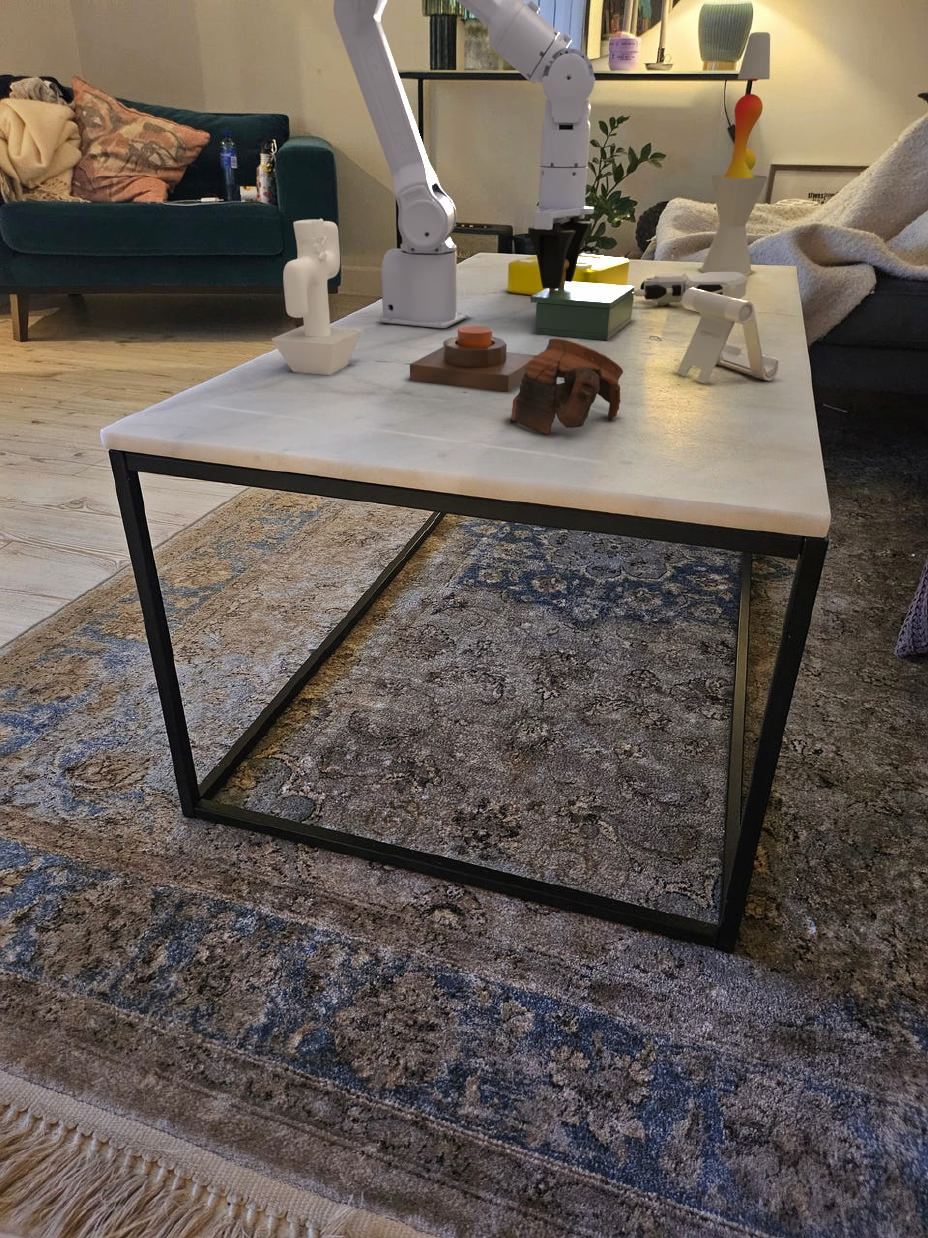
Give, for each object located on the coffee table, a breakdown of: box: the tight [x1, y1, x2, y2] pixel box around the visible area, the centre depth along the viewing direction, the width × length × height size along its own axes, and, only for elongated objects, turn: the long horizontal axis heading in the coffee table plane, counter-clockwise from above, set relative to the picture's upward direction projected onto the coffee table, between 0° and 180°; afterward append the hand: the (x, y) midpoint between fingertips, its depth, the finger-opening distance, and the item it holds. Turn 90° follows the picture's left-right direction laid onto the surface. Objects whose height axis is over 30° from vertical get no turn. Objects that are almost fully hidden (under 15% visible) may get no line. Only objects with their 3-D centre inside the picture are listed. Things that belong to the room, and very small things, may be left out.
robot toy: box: [634, 272, 751, 306], centre depth 126 cm, size 12×4×15 cm
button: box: [457, 325, 493, 347], centre depth 92 cm, size 4×4×2 cm
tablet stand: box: [677, 288, 779, 384], centre depth 92 cm, size 9×8×8 cm
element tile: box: [507, 253, 630, 296], centre depth 137 cm, size 15×15×5 cm
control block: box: [409, 336, 537, 393], centre depth 93 cm, size 11×9×4 cm
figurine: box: [270, 218, 363, 376], centre depth 92 cm, size 7×9×15 cm
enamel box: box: [534, 292, 635, 341], centre depth 114 cm, size 9×12×4 cm
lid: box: [530, 259, 635, 309], centre depth 112 cm, size 10×12×4 cm
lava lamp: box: [700, 31, 771, 275], centre depth 145 cm, size 9×9×35 cm
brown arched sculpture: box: [509, 337, 624, 436], centre depth 78 cm, size 12×10×8 cm
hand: (557, 284), depth 113 cm, fingers closed on lid, 5 cm apart
